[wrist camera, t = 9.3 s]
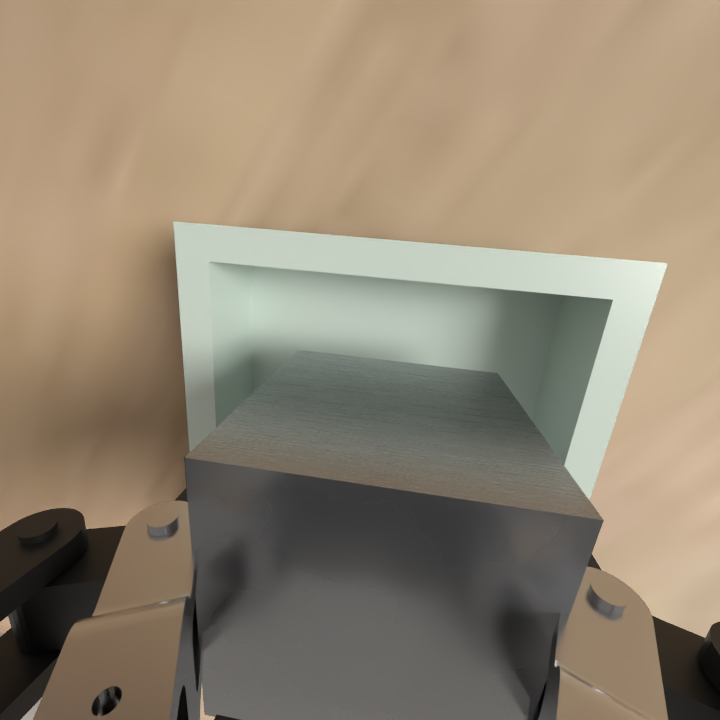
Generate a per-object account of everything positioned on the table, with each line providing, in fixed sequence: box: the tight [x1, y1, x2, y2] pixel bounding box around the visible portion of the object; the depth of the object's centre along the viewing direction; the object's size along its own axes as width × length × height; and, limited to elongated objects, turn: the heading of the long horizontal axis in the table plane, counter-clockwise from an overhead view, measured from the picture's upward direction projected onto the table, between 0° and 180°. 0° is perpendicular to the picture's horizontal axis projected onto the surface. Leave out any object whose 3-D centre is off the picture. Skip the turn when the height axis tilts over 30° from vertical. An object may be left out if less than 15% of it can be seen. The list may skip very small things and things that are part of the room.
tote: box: [173, 221, 668, 499], centre depth 13 cm, size 13×13×4 cm
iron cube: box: [184, 350, 603, 720], centre depth 9 cm, size 6×6×6 cm
